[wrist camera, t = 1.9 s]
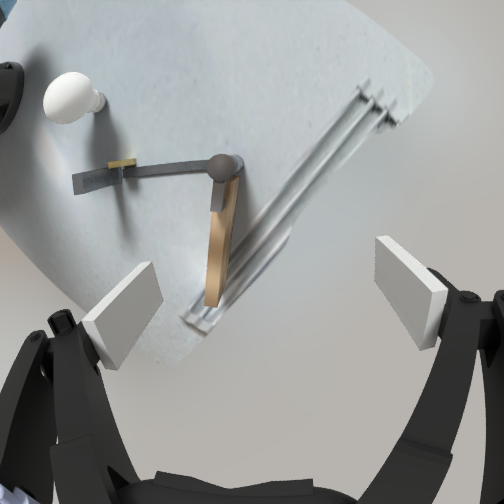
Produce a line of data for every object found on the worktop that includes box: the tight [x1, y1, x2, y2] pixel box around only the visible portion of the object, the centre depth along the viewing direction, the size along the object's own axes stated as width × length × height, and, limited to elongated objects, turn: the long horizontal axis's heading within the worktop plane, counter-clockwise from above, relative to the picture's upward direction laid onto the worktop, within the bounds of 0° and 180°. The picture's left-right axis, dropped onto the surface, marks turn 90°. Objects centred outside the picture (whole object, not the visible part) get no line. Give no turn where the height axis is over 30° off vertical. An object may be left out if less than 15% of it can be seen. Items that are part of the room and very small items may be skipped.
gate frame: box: [72, 155, 244, 195], centre depth 29 cm, size 19×3×9 cm, turn 92°
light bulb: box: [43, 72, 106, 124], centre depth 25 cm, size 7×7×11 cm
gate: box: [204, 154, 239, 308], centre depth 30 cm, size 17×2×10 cm, turn 172°
